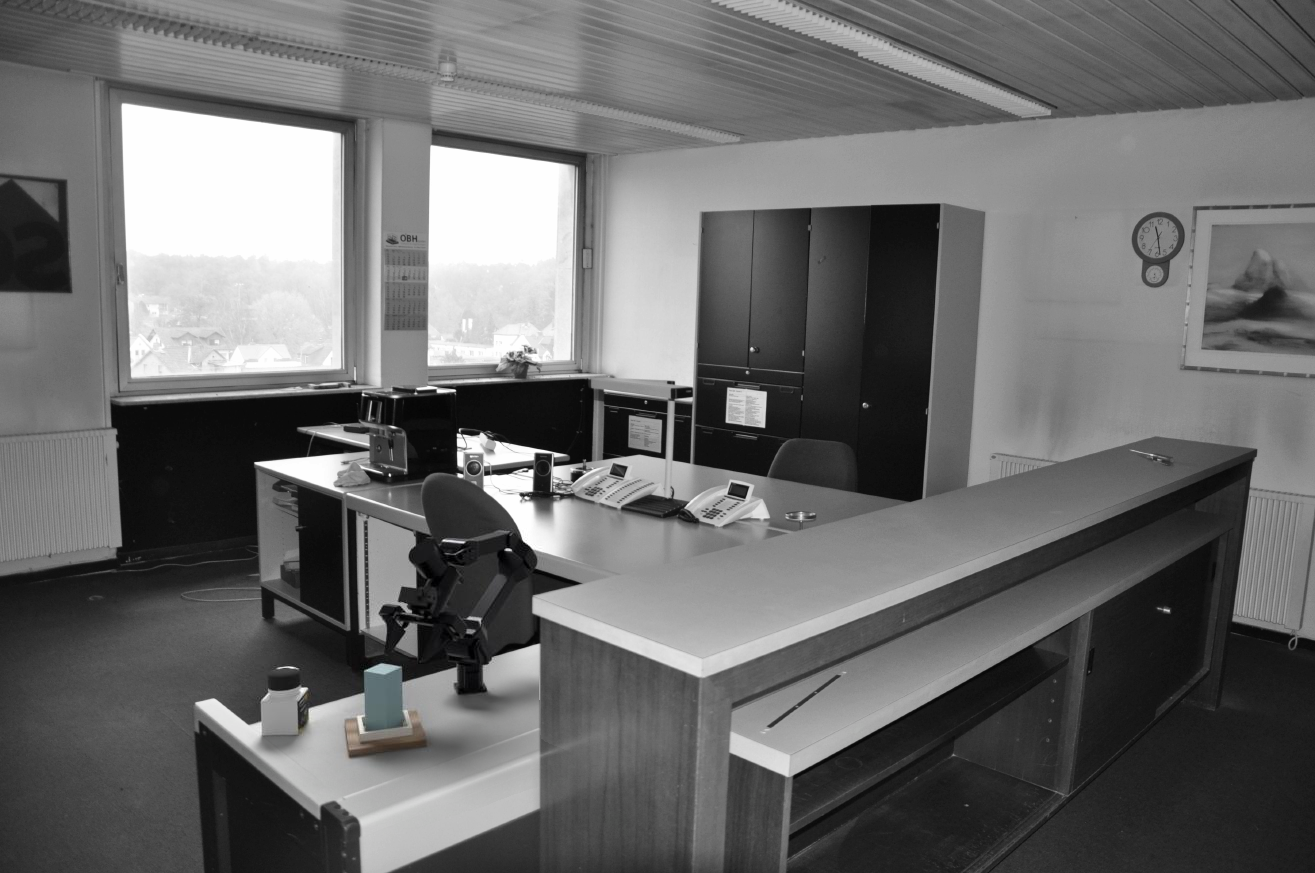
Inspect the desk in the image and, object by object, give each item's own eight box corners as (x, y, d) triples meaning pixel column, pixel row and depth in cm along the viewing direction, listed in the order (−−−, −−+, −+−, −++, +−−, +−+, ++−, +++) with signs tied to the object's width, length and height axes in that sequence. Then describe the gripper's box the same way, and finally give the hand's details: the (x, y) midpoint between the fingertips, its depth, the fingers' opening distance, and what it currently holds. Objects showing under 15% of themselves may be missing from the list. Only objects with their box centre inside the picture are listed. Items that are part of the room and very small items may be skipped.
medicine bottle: (299, 735, 185) (297, 675, 184) (261, 736, 185) (259, 676, 184) (309, 721, 192) (307, 663, 191) (273, 722, 192) (271, 663, 191)
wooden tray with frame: (344, 724, 190) (344, 711, 190) (416, 715, 195) (416, 702, 195) (349, 756, 176) (348, 742, 175) (426, 745, 180) (426, 731, 180)
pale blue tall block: (382, 722, 189) (381, 663, 188) (403, 726, 187) (401, 666, 186) (365, 731, 184) (363, 670, 183) (385, 735, 182) (384, 674, 181)
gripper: (383, 565, 197) (346, 631, 188) (457, 574, 190) (423, 643, 180) (408, 593, 205) (375, 658, 196) (481, 603, 197) (449, 671, 188)
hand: (404, 657), depth 190 cm, fingers open, 9 cm apart
